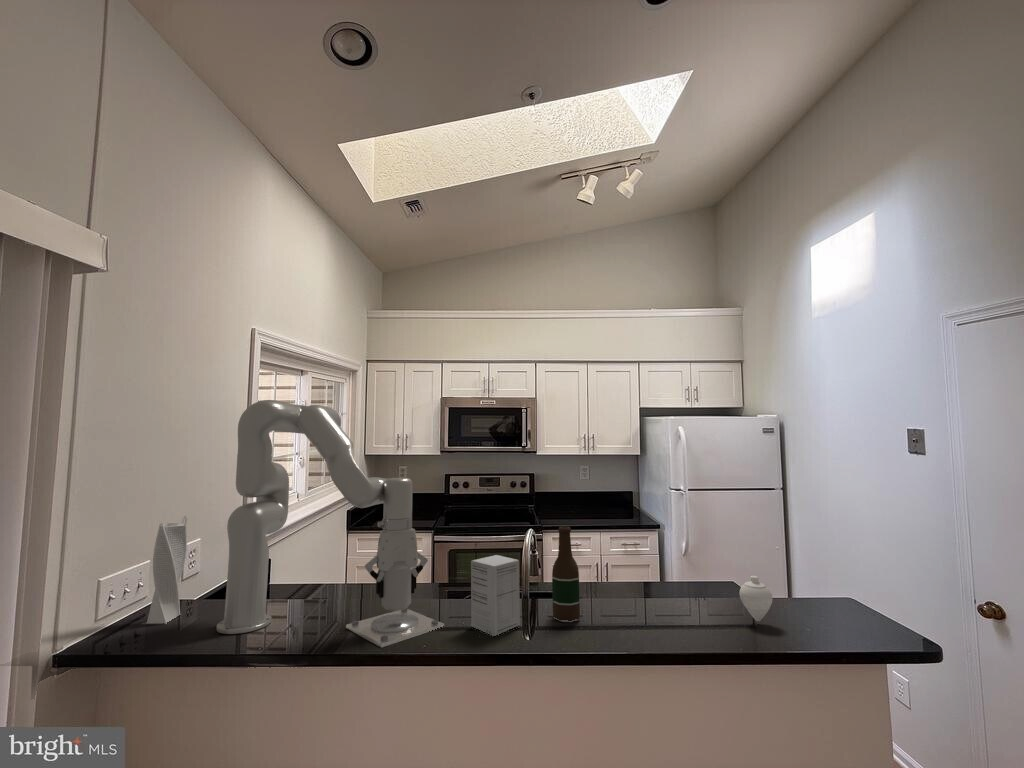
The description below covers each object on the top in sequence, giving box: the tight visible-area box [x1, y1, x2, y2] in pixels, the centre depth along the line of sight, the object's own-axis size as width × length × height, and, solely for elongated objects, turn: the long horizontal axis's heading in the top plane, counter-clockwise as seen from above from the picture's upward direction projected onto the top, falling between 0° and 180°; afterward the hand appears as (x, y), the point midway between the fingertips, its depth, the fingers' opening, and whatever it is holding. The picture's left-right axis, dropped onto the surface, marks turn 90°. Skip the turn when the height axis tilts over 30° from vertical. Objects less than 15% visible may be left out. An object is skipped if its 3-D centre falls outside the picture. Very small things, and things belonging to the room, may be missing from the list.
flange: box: [345, 607, 445, 648], centre depth 121 cm, size 18×18×2 cm
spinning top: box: [739, 575, 774, 622], centre depth 121 cm, size 8×8×12 cm
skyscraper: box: [141, 515, 188, 625], centre depth 130 cm, size 8×8×28 cm
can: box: [381, 561, 412, 612], centre depth 122 cm, size 8×8×12 cm
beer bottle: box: [551, 525, 581, 621], centre depth 128 cm, size 8×8×24 cm
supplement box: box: [470, 554, 521, 637], centre depth 122 cm, size 10×9×17 cm
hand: (396, 593), depth 122 cm, fingers closed on can, 7 cm apart
